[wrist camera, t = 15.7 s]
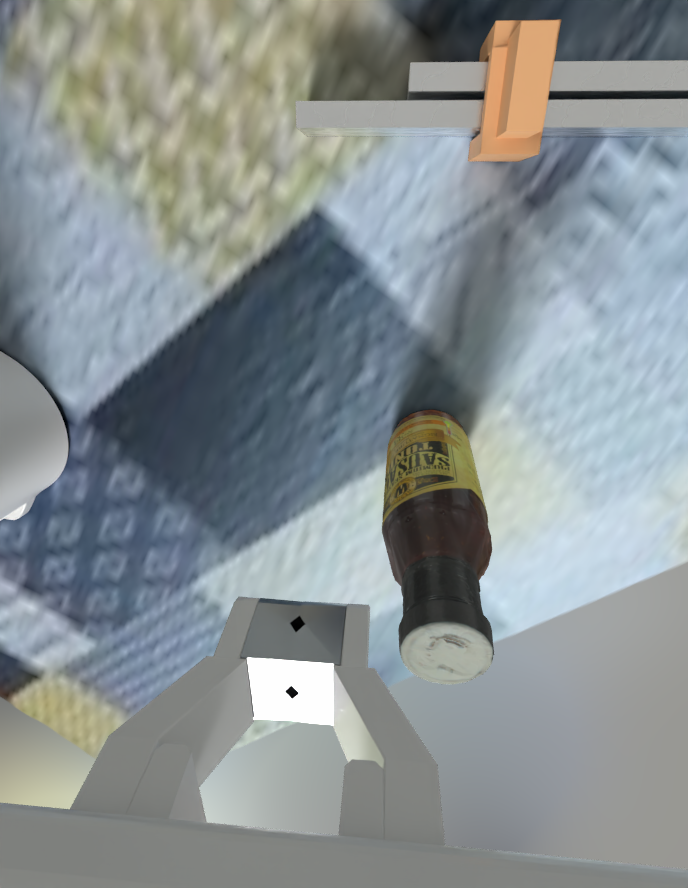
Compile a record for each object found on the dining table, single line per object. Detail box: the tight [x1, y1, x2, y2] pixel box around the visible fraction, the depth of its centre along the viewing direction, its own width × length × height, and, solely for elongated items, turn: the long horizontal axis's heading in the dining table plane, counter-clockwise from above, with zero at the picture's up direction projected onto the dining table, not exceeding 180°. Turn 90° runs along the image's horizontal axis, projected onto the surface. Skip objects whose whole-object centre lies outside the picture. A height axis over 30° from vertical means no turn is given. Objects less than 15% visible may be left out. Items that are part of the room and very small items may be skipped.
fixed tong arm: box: [296, 99, 688, 137], centre depth 26 cm, size 24×1×4 cm, turn 90°
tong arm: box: [407, 60, 688, 100], centre depth 25 cm, size 18×1×4 cm, turn 89°
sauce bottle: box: [382, 410, 494, 684], centre depth 29 cm, size 7×6×20 cm
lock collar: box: [468, 20, 561, 162], centre depth 24 cm, size 3×5×7 cm, turn 0°
